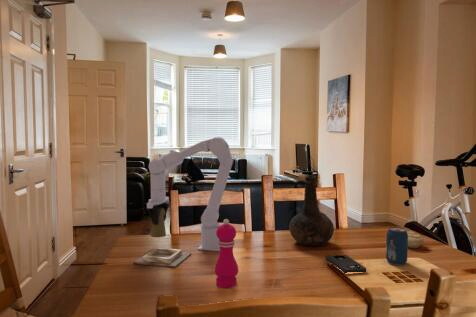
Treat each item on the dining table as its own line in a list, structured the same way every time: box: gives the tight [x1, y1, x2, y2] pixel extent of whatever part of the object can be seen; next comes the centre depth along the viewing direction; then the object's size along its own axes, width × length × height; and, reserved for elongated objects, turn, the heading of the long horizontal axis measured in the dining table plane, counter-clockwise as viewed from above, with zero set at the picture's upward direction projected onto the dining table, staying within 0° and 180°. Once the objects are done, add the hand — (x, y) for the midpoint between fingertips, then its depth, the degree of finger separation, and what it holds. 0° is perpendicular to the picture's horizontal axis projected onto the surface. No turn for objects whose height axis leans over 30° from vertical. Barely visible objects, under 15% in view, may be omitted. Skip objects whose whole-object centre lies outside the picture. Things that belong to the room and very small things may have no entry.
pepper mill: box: [214, 218, 239, 289], centre depth 113 cm, size 7×7×20 cm
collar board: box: [133, 247, 192, 269], centre depth 136 cm, size 16×14×2 cm
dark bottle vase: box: [288, 175, 335, 247], centre depth 154 cm, size 18×18×28 cm
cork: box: [150, 208, 167, 238], centre depth 149 cm, size 6×6×11 cm
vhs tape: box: [325, 254, 367, 273], centre depth 129 cm, size 14×8×2 cm, turn 12°
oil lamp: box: [406, 230, 425, 249], centre depth 153 cm, size 11×14×5 cm
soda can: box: [385, 226, 409, 266], centre depth 131 cm, size 7×7×12 cm
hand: (158, 222), depth 149 cm, fingers closed on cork, 5 cm apart
